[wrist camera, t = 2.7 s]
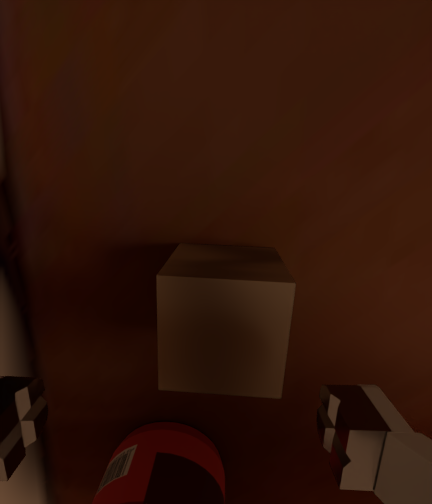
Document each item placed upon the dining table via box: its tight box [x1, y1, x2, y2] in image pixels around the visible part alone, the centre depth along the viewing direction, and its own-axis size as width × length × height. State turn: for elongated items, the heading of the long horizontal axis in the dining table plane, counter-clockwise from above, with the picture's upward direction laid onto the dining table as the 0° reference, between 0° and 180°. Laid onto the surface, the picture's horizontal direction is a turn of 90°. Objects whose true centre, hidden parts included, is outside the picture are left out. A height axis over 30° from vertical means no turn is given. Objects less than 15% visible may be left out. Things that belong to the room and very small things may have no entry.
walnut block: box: [156, 243, 296, 399], centre depth 13 cm, size 5×5×5 cm
